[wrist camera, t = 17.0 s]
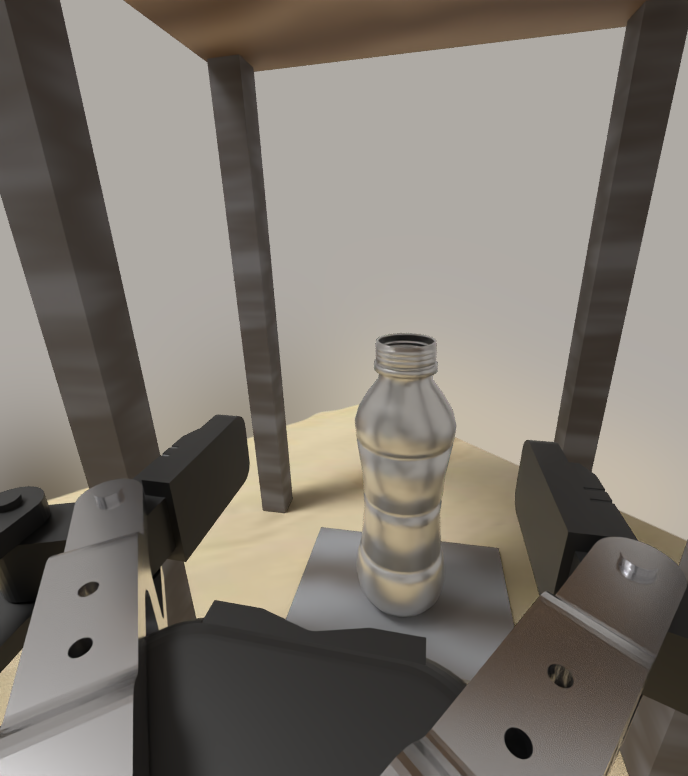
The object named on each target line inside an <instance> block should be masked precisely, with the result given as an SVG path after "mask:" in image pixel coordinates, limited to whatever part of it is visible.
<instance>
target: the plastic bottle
mask: <svg viewBox="0 0 688 776" xmlns="http://www.w3.org/2000/svg"><path fill="white" fill-rule="evenodd" d="M436 352H437V343H436V340H435V339H434V338H433V337H430V336H426V335H421V334H412V333H397V334H388V335H384V336H381V337H378V338H377V339H376V359H375V361H374V369H375V371H376V372H377V373H379V377H378V379H377V380H376V381H375V382H374V384H373V385H372V386H371V388H370V389H369V390H368V391H367V393H366V395H365V396H364V398H363V400H362V401H361V403H360V405H359V407H358V411H357V414H356V417H355V427H356V436H357V442H358V448H359V454H360V460H361V466H362V472H363V486H364V501H365V506H364V517H363V528H362V537H361V541H360V545H359V549H358V556H357V572H358V577H359V581H360V585H361V589H362V591H363V592H364V594H365V596H366V597H367V598H368V599H369V601H370V602H371V603H373V604H374V605H375V606H376V607H377V608H378V609H380V610H381V611H383V612H385V613H387V614H390V615H392V616H397V617H411V616H416V615H418V614H421V613H423V612H424V611H426V610H427V609H429V608H431V607H432V606H433V605H434V603H435V602H436V601H437V599H438V597H439V595H440V592H441V589H442V585H443V582H444V578H445V572H444V558H443V552H442V547H441V536H440V509H441V502H442V501H441V498H442V495H443V487H444V480H445V474H446V470H447V466H448V462H449V458H450V454H451V450H452V446H453V442H454V438H455V432H456V422H455V417H454V413H453V409H452V408H451V406H450V404H449V402H448V401H447V399H446V397H445V395H444V394H443V392H442V391H441V390H440V388H439V387H438V386H437V384H436V383H435V381H434V380H433V376H432V375H434V374H436V373H437V369H438V362H437V361H436Z"/></svg>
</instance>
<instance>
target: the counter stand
mask: <svg viewBox="0 0 688 776" xmlns="http://www.w3.org/2000/svg"><path fill="white" fill-rule="evenodd" d="M124 1H125V2H126V3H128V4H129V5H131V6H132V7H133V8H135V9H136V10H137V11H139V12H140V13H141V14H143V15H144V16H145V17H147V18H148V19H149V20H151V21H152V22H154V23H155V24H156V25H158V26H159V27H160V28H162V29H163V30H164V31H166V32H167V33H169V34H170V35H171V36H172V37H174V38H175V39H176V40H178V41H179V42H181V43H182V44H183V45H185V46H186V47H187V48H189V49H190V50H191V51H193V52H194V53H195V54H197V55H198V56H199V57H201V58H202V59H204V60H205V61H206V62H208V70H209V78H210V87H211V95H212V102H213V111H214V119H215V127H216V135H217V143H218V151H219V159H220V168H221V176H222V184H223V192H224V200H225V208H226V216H227V223H228V232H229V240H230V248H231V256H232V264H233V272H234V281H235V288H236V297H237V305H238V313H239V321H240V329H241V337H242V344H243V353H244V361H245V369H246V378H247V385H248V394H249V402H250V410H251V418H252V426H253V433H254V442H255V450H256V458H257V466H258V474H259V483H260V491H261V499H262V507H263V510H264V511H273V512H281V513H285V512H286V510H287V508H288V506H289V505H290V503H291V501H292V499H293V497H292V486H291V475H290V464H289V453H288V442H287V431H286V421H285V411H284V398H283V387H282V377H281V366H280V355H279V344H278V332H277V321H276V311H275V299H274V288H273V279H272V267H271V255H270V244H269V235H268V223H267V211H266V200H265V190H264V178H263V168H262V158H261V146H260V135H259V125H258V113H257V102H256V91H255V80H254V72H256V71H264V70H273V69H280V68H289V67H297V66H306V65H313V64H321V63H330V62H338V61H346V60H354V59H363V58H371V57H379V56H388V55H396V54H404V53H412V52H421V51H428V50H436V49H445V48H454V47H462V46H469V45H478V44H486V43H495V42H503V41H510V40H519V39H527V38H535V37H544V36H551V35H560V34H569V33H577V32H585V31H592V30H601V29H610V28H618V27H625V26H626V32H625V37H624V43H623V49H622V55H621V61H620V66H619V72H618V77H617V83H616V89H615V95H614V100H613V106H612V112H611V118H610V124H609V129H608V135H607V141H606V146H605V152H604V158H603V164H602V169H601V176H600V182H599V187H598V193H597V198H596V204H595V210H594V215H593V221H592V227H591V233H590V239H589V244H588V250H587V256H586V261H585V267H584V273H583V279H582V285H581V290H580V296H579V302H578V307H577V313H576V319H575V325H574V330H573V336H572V342H571V347H570V353H569V359H568V366H567V370H566V376H565V382H564V388H563V394H562V399H561V405H560V411H559V416H558V422H557V429H556V434H555V440H554V442H557V443H558V444H559V446H560V447H561V449H562V451H563V453H564V454H565V456H566V458H567V460H568V461H569V462H572V463H580V464H581V465H583V466H584V467H585V468H587V469H588V470H589V471H591V472H592V466H593V462H594V458H595V453H596V449H597V444H598V439H599V435H600V430H601V426H602V421H603V416H604V412H605V407H606V403H607V397H608V393H609V389H610V384H611V380H612V375H613V371H614V366H615V361H616V357H617V352H618V347H619V343H620V338H621V334H622V329H623V325H624V320H625V315H626V311H627V306H628V302H629V297H630V293H631V288H632V283H633V278H634V274H635V269H636V265H637V260H638V256H639V251H640V247H641V242H642V237H643V233H644V228H645V224H646V219H647V214H648V210H649V205H650V200H651V196H652V191H653V187H654V182H655V177H656V173H657V169H658V164H659V159H660V154H661V150H662V146H663V141H664V136H665V131H666V127H667V123H668V118H669V113H670V109H671V103H672V100H673V95H674V90H675V85H676V81H677V77H678V72H679V67H680V63H681V58H682V53H683V49H684V45H685V40H686V35H687V31H688V0H124ZM0 194H1V198H2V201H3V204H4V208H5V211H6V214H7V217H8V221H9V224H10V228H11V231H12V234H13V237H14V241H15V244H16V247H17V251H18V254H19V257H20V261H21V264H22V267H23V271H24V274H25V277H26V281H27V284H28V287H29V290H30V294H31V297H32V300H33V304H34V307H35V310H36V314H37V317H38V320H39V324H40V327H41V330H42V334H43V337H44V340H45V343H46V347H47V350H48V353H49V357H50V360H51V363H52V367H53V370H54V373H55V377H56V380H57V383H58V386H59V390H60V393H61V396H62V400H63V403H64V406H65V410H66V413H67V416H68V419H69V423H70V426H71V430H72V433H73V436H74V440H75V443H76V446H77V449H78V453H79V456H80V459H81V462H82V466H83V469H84V473H85V476H86V479H87V483H88V486H89V489H90V488H92V487H94V486H96V485H98V484H101V483H104V482H107V481H110V480H115V479H133V478H134V477H135V476H136V475H138V474H139V473H140V472H141V471H142V470H144V469H145V468H146V467H147V466H148V465H149V464H151V463H152V462H153V461H154V460H155V459H157V458H158V457H159V456H160V452H159V448H158V443H157V439H156V434H155V429H154V425H153V420H152V416H151V411H150V407H149V402H148V398H147V393H146V389H145V384H144V380H143V375H142V370H141V367H140V361H139V357H138V352H137V348H136V343H135V339H134V334H133V330H132V325H131V321H130V316H129V312H128V307H127V302H126V298H125V294H124V289H123V284H122V280H121V275H120V271H119V266H118V262H117V257H116V253H115V248H114V244H113V239H112V234H111V230H110V226H109V221H108V217H107V212H106V207H105V203H104V198H103V194H102V189H101V185H100V180H99V175H98V171H97V166H96V162H95V158H94V153H93V148H92V144H91V140H90V135H89V130H88V126H87V121H86V116H85V112H84V107H83V103H82V98H81V94H80V89H79V85H78V80H77V76H76V71H75V67H74V62H73V58H72V53H71V48H70V44H69V39H68V35H67V31H66V26H65V21H64V17H63V12H62V8H61V3H60V0H0ZM361 537H362V532H357V531H349V530H341V529H332V528H324V527H321V529H320V532H319V534H318V537H317V539H316V542H315V545H314V547H313V550H312V553H311V555H310V558H309V560H308V563H307V566H306V568H305V571H304V573H303V576H302V579H301V581H300V584H299V586H298V589H297V592H296V594H295V597H294V599H293V602H292V605H291V607H290V610H289V612H288V615H287V618H286V620H288V621H290V622H292V623H294V624H296V625H298V626H300V627H302V628H305V629H307V630H310V631H326V630H341V629H356V628H375V629H381V630H386V631H392V632H398V633H403V634H409V635H415V636H420V637H426V658H428V659H430V660H432V661H435V662H437V663H438V664H440V665H442V666H443V667H445V668H447V669H448V670H450V671H451V672H453V673H454V674H455V675H457V676H458V677H459V678H461V679H462V680H463V681H464V682H465V683H469V682H470V681H471V680H472V678H473V677H474V676H475V675H476V673H477V672H478V671H479V670H480V669H481V667H482V666H483V665H484V664H485V662H486V661H487V660H488V659H489V657H490V656H491V655H492V654H493V653H494V651H495V650H496V649H497V648H498V646H499V645H500V644H501V643H502V641H503V640H504V639H505V638H506V637H507V635H508V634H509V633H510V632H511V630H512V629H513V628H514V623H513V618H512V613H511V608H510V603H509V598H508V593H507V588H506V583H505V578H504V573H503V568H502V563H501V558H500V553H499V548H492V547H484V546H475V545H467V544H459V543H450V542H442V541H441V547H442V552H443V558H444V572H445V578H444V582H443V585H442V589H441V592H440V595H439V597H438V599H437V601H436V602H435V603H434V605H433V606H432V607H431V608H429V609H427V610H426V611H424V612H423V613H421V614H418V615H416V616H411V617H397V616H392V615H390V614H387V613H385V612H383V611H381V610H380V609H378V608H377V607H376V606H375V605H374V604H373V603H371V602H370V601H369V599H368V598H367V597H366V596H365V594H364V592H363V591H362V589H361V585H360V581H359V577H358V572H357V556H358V549H359V545H360V541H361ZM679 567H680V568H681V570H682V571H683V573H684V574H685V577H686V579H687V582H688V540H687V543H686V546H685V549H684V552H683V555H682V558H681V561H680V564H679ZM162 570H163V575H164V586H165V598H166V611H167V624H168V626H170V625H173V624H176V623H180V622H183V621H187V620H192V619H196V615H195V611H194V606H193V602H192V597H191V593H190V588H189V584H188V579H187V575H186V570H185V566H184V562H183V561H176V560H170V559H167V560H166V561H165V562H164V563H163V565H162ZM620 752H621V755H622V757H623V760H624V763H625V766H626V769H627V771H628V774H629V776H688V715H686V714H683V713H681V712H679V711H677V710H675V709H672V708H670V707H668V706H666V705H664V704H662V703H659V702H657V701H655V700H653V699H651V698H648V697H646V696H644V695H643V697H642V699H641V702H640V704H639V706H638V709H637V711H636V713H635V716H634V718H633V720H632V723H631V725H630V727H629V730H628V732H627V734H626V737H625V739H624V741H623V744H622V746H621V748H620Z"/></svg>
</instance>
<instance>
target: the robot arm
mask: <svg viewBox="0 0 688 776" xmlns="http://www.w3.org/2000/svg"><path fill="white" fill-rule="evenodd" d="M249 464H250V462H249V453H248V445H247V437H246V428H245V423H244V420H243V418H242V417H240V416H228V415H215V416H214V417H213V418H212V419H210V420H209V421H208V422H207V423H206V424H205V425H204V426H202V427H201V428H200V429H197V430H195V431H193V432H191V433H189V434H187V435H185V436H183V437H181V438H180V439H179V440H178V441H177V442H176V443H174V444H173V445H172V448H168V449H167V450H166V451H165V452H164V453H163V455H162V456H161V455H160V456H159V457H158V458H157V459H155V460H154V461H153V462H152V463H151V464H149V465H148V466H147V467H146V468H145V469H144V470H142V471H141V472H140V473H139V474H138V475H136V476H135V477H134V478H133V479H115V480H110V481H107V482H104V483H101V484H98V485H96V486H94V487H92V488H90V489H89V490H87V491H86V492H84V493H83V494H82V495H81V496H80V497H79V498H78V499H77V501H76V502H75V503H65V504H55V505H48V502H47V499H46V496H45V494H44V491H43V490H42V489H41V488H38V487H29V486H28V487H19V488H15V489H11V490H7V491H4V492H1V493H0V673H1V672H2V670H3V669H4V668H5V667H6V666H7V665H8V664H9V663H10V662H11V661H12V659H13V658H14V657H15V656H16V655H17V654H18V653H19V652H20V651H21V650H22V648H23V650H22V654H21V657H20V661H19V665H18V668H17V672H16V676H15V679H14V683H13V687H12V690H11V694H10V698H9V702H8V705H7V709H6V713H5V716H4V720H3V723H2V725H1V726H0V776H609V774H610V772H611V769H612V767H613V765H614V762H615V760H616V758H617V755H618V753H619V751H620V748H621V746H622V744H623V741H624V739H625V737H626V734H627V732H628V730H629V727H630V725H631V723H632V720H633V718H634V716H635V713H636V711H637V709H638V706H639V704H640V702H641V699H642V697H643V695H644V696H646V697H648V698H651V699H653V700H655V701H657V702H659V703H662V704H664V705H666V706H668V707H670V708H672V709H675V710H677V711H679V712H681V713H683V714H686V715H688V582H687V579H686V577H685V574H684V573H683V571H682V570H681V568H680V567H679V566H678V565H677V564H676V563H675V562H674V561H673V560H672V559H671V558H669V557H668V556H667V555H665V554H664V553H662V552H661V551H659V550H657V549H655V548H653V547H651V546H649V545H647V544H645V543H642V542H639V541H638V540H637V538H636V537H635V535H634V534H633V532H632V531H631V529H630V528H629V526H628V524H627V523H626V521H625V520H624V518H623V517H622V515H621V514H620V512H619V510H618V509H617V507H616V506H615V504H612V500H611V498H610V497H609V495H608V493H607V492H605V489H604V487H603V486H602V484H601V483H600V481H599V479H598V478H597V476H596V475H595V474H593V473H592V472H591V471H589V470H588V469H587V468H585V467H584V466H583V465H581V464H580V463H572V462H569V461H568V460H567V458H566V456H565V454H564V453H563V451H562V449H561V447H560V446H559V444H558V443H557V442H546V441H533V440H526V441H525V442H524V445H523V450H522V455H521V461H520V467H519V473H518V479H517V485H516V491H515V508H516V514H517V517H518V521H519V524H520V528H521V531H522V535H523V539H524V542H525V546H526V549H527V553H528V556H529V560H530V563H531V567H532V570H533V574H534V577H535V581H536V584H537V588H538V591H539V595H540V596H539V597H538V598H537V600H536V601H535V602H534V603H533V605H532V606H531V607H530V608H529V610H528V611H527V612H526V613H525V614H524V616H523V617H522V618H521V619H520V621H519V622H518V623H517V624H516V626H515V627H514V628H513V629H512V630H511V632H510V633H509V634H508V635H507V637H506V638H505V639H504V640H503V641H502V643H501V644H500V645H499V646H498V648H497V649H496V650H495V651H494V653H493V654H492V655H491V656H490V657H489V659H488V660H487V661H486V662H485V664H484V665H483V666H482V667H481V669H480V670H479V671H478V672H477V673H476V675H475V676H474V677H473V678H472V680H471V681H470V682H469V683H468V684H466V683H465V682H464V681H463V680H462V679H461V678H459V677H458V676H457V675H455V674H454V673H453V672H451V671H450V670H448V669H447V668H445V667H443V666H442V665H440V664H438V663H437V662H435V661H432V660H430V659H428V658H426V637H420V636H415V635H409V634H403V633H398V632H392V631H386V630H381V629H375V628H356V629H341V630H326V631H310V630H307V629H305V628H302V627H300V626H298V625H296V624H294V623H292V622H290V621H288V620H286V619H284V618H281V617H279V616H277V615H275V614H273V613H271V612H269V611H267V610H265V609H262V608H257V607H251V606H245V605H240V604H234V603H228V602H223V601H217V600H214V602H213V604H212V605H211V607H210V609H209V611H208V612H207V614H206V616H205V617H204V618H198V619H192V620H187V621H183V622H180V623H176V624H173V625H170V626H168V624H167V611H166V598H165V586H164V575H163V570H162V565H163V563H164V562H165V561H166V560H167V559H170V560H176V561H183V562H186V561H187V560H188V559H189V557H190V556H191V554H192V553H193V552H194V550H195V549H196V548H197V546H198V545H199V544H200V542H201V541H202V539H203V538H204V537H205V535H206V534H207V533H208V531H209V530H210V529H211V527H212V526H213V525H214V523H215V522H216V520H217V519H218V518H219V516H220V515H221V514H222V512H223V511H224V510H225V508H226V507H227V506H228V504H229V503H230V501H231V500H232V499H233V497H234V496H235V495H236V493H237V492H238V491H239V489H240V488H241V486H242V485H243V484H244V482H245V481H246V479H247V476H248V472H249Z"/></svg>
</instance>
